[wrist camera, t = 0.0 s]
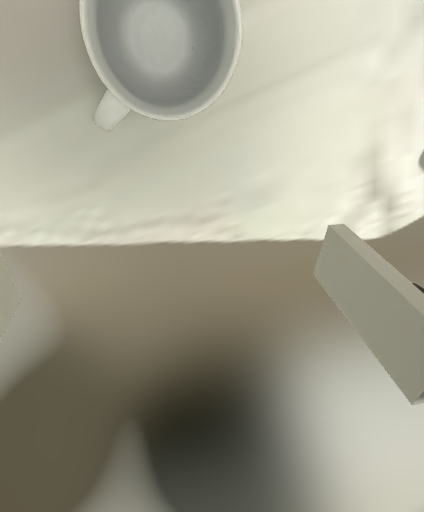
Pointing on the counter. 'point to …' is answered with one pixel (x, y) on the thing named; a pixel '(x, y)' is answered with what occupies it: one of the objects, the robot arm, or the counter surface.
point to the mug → (160, 55)
